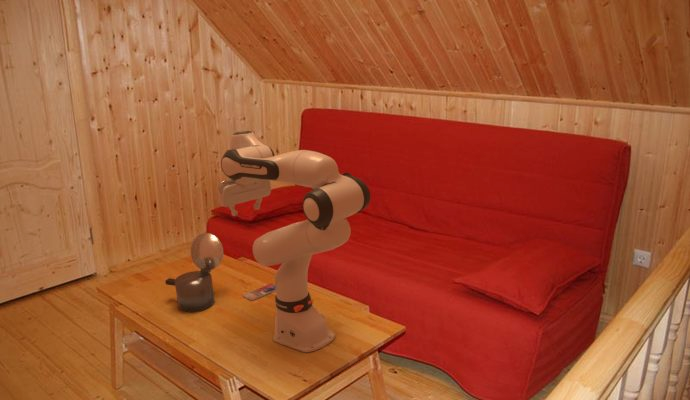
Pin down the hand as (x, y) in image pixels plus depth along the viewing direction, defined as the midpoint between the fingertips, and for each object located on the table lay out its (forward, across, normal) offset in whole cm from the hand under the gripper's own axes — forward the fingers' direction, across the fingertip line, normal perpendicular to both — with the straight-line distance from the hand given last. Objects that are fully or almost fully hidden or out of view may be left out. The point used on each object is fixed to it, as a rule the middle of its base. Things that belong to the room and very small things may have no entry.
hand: (245, 212), depth 203 cm
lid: (+24, -4, +24) cm, 34 cm away
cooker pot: (+42, -14, +21) cm, 49 cm away
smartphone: (+41, +10, +7) cm, 43 cm away
